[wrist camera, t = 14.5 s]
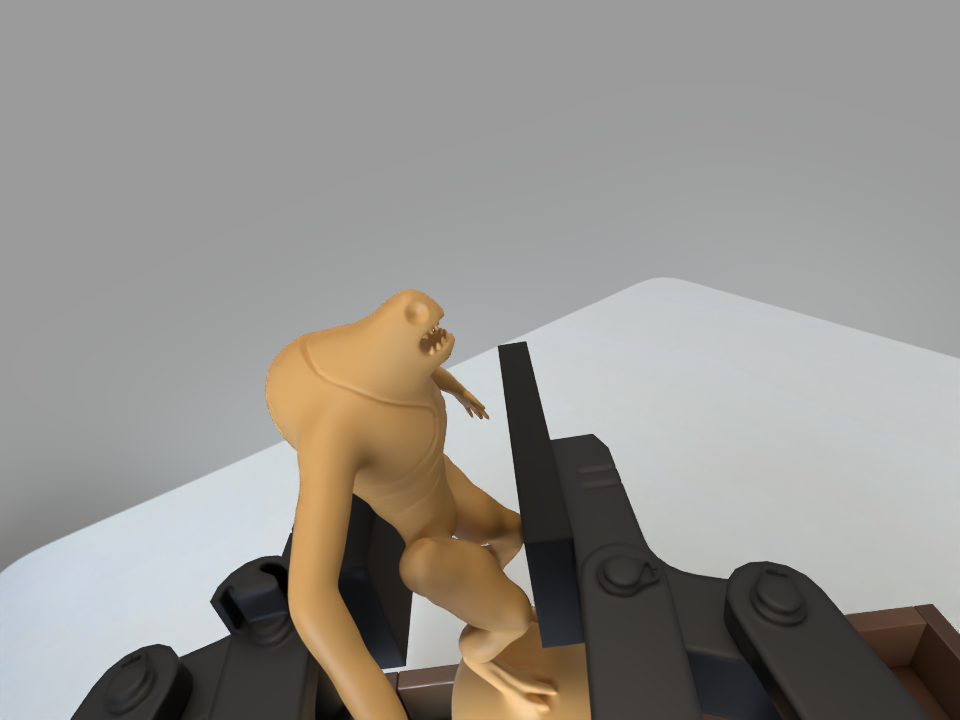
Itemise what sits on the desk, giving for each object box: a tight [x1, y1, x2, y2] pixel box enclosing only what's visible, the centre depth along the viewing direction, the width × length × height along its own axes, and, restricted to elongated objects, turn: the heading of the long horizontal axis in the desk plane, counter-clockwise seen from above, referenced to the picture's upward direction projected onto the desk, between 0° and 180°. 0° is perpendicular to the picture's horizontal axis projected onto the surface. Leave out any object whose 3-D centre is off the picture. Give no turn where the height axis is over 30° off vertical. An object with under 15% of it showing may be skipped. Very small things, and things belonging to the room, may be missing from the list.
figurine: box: [265, 289, 591, 720], centre depth 10 cm, size 8×6×12 cm
